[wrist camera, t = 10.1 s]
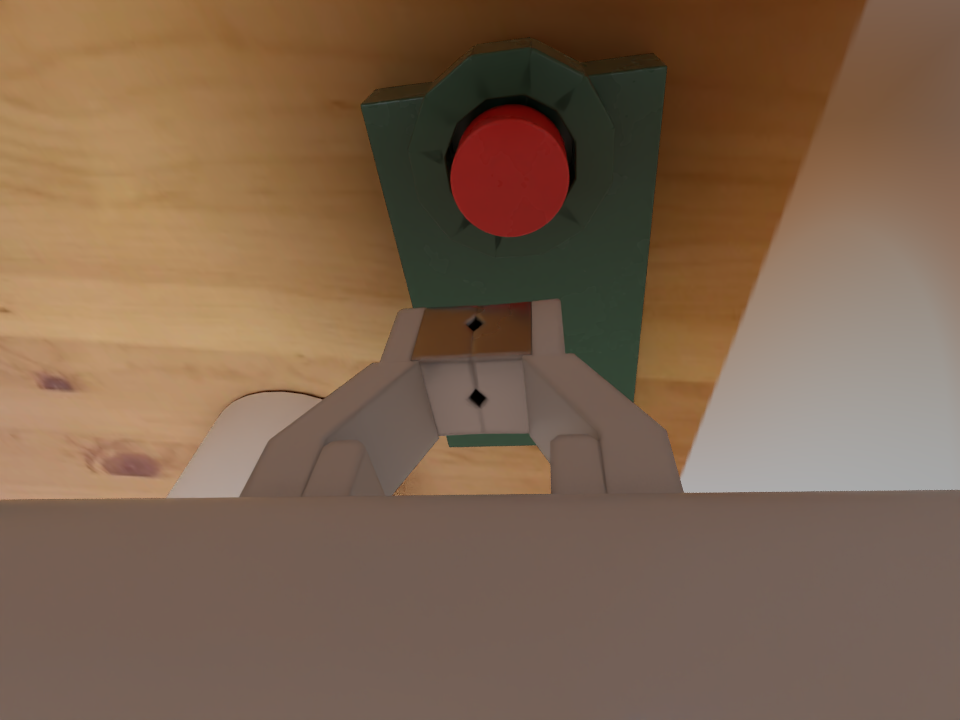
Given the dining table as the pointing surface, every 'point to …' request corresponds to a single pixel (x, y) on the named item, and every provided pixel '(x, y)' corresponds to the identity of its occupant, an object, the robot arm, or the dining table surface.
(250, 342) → the dining table surface
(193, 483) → the white cylinder
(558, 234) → the button housing
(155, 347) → the dining table surface
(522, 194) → the button
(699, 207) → the dining table surface
